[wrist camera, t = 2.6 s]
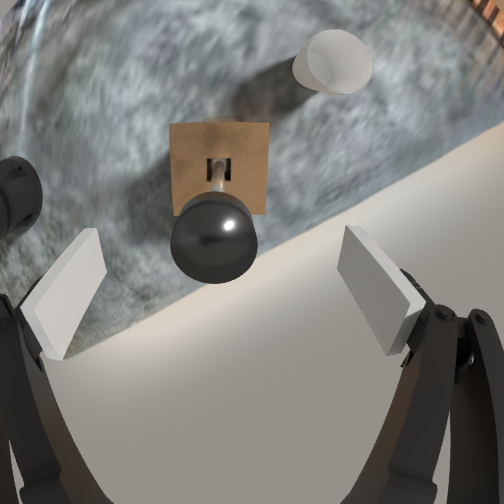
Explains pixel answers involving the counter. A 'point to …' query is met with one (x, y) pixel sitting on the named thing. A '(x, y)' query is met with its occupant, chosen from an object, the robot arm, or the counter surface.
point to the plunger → (214, 232)
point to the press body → (219, 146)
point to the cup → (333, 63)
